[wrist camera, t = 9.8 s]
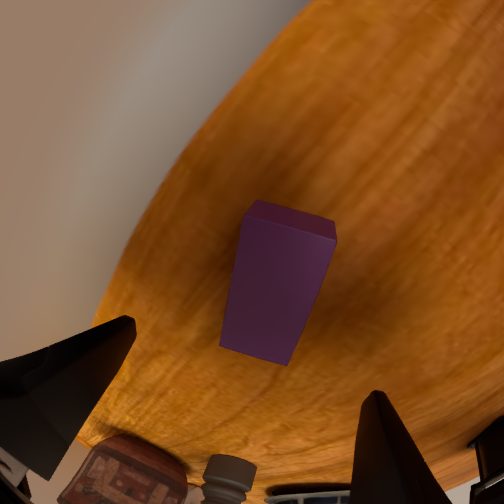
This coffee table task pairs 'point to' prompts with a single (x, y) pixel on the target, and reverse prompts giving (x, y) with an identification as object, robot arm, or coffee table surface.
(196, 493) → the shell sculpture
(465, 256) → the coffee table surface
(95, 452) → the pottery
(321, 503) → the patterned domed piece
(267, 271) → the purple box
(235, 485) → the candle holder
